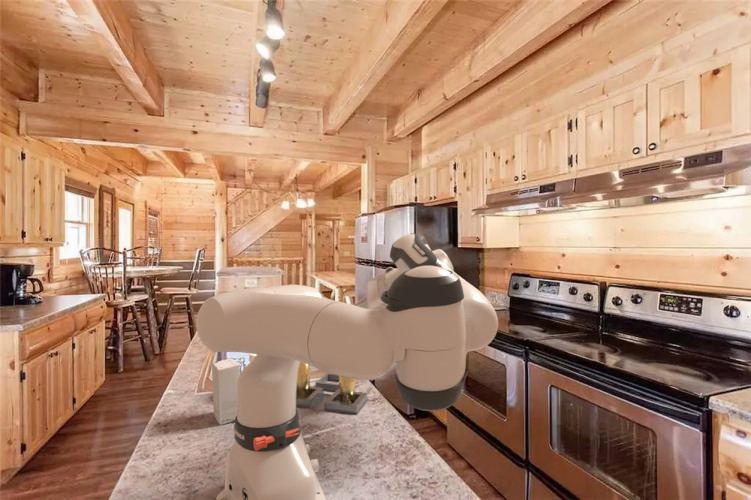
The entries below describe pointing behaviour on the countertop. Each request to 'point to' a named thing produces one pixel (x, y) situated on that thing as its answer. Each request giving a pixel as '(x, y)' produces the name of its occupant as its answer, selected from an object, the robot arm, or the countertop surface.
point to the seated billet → (303, 380)
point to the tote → (328, 386)
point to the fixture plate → (331, 402)
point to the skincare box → (225, 390)
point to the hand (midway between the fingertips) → (355, 308)
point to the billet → (346, 390)
